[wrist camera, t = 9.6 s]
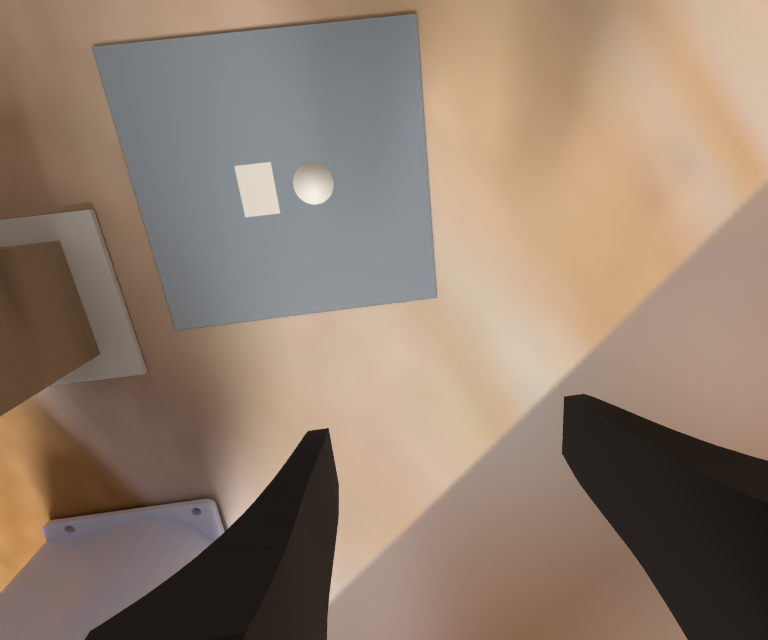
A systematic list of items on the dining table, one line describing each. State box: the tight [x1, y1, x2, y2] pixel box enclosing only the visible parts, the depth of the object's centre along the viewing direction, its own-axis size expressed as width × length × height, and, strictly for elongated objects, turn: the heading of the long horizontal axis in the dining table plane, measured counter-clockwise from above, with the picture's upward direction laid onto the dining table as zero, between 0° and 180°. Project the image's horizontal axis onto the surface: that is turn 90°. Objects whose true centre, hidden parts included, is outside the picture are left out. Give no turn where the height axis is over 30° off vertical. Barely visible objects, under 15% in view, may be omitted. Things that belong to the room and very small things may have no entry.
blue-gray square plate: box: [92, 13, 437, 331], centre depth 18 cm, size 13×12×1 cm
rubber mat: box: [0, 209, 147, 387], centre depth 18 cm, size 9×8×1 cm
